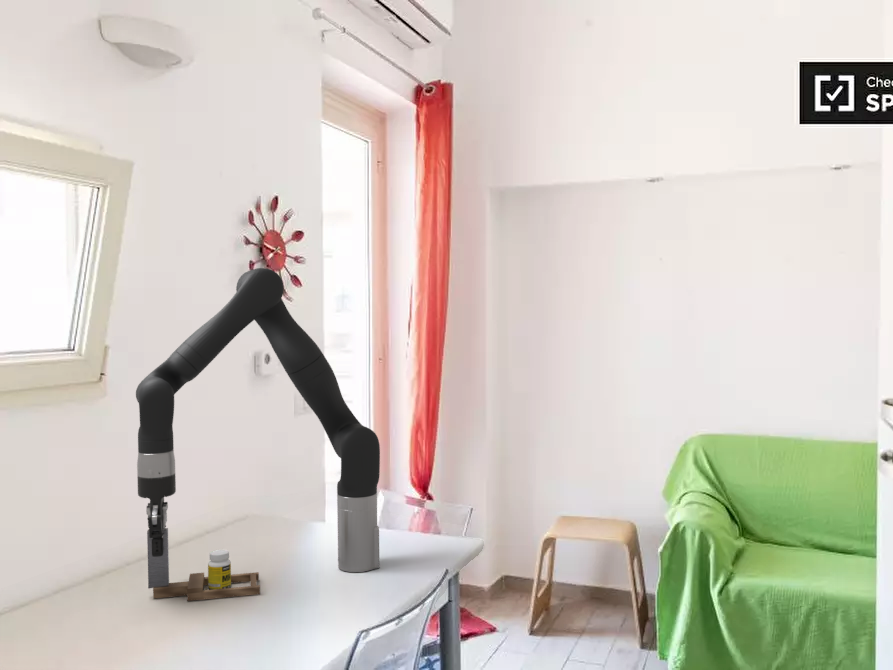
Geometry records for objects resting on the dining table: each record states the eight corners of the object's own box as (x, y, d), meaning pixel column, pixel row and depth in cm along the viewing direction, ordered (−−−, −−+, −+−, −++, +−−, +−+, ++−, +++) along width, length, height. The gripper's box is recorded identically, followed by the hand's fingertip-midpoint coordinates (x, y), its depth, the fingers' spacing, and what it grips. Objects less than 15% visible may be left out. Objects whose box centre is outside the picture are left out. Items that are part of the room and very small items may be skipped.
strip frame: (258, 578, 181) (257, 516, 181) (259, 594, 171) (258, 528, 171) (151, 588, 175) (150, 524, 175) (146, 604, 166) (145, 537, 165)
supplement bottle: (224, 595, 171) (224, 556, 171) (204, 594, 172) (203, 555, 172) (235, 587, 176) (234, 549, 176) (215, 586, 177) (214, 548, 177)
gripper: (172, 478, 164) (174, 562, 165) (177, 465, 178) (179, 543, 178) (133, 480, 163) (135, 566, 163) (141, 467, 176) (142, 546, 176)
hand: (158, 554), depth 171 cm, fingers closed on strip frame
